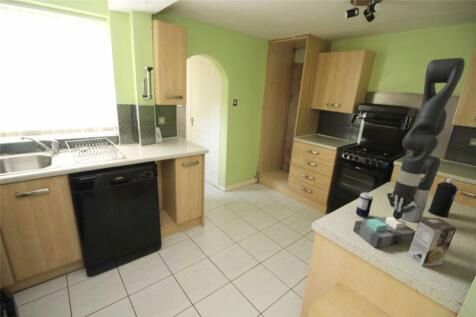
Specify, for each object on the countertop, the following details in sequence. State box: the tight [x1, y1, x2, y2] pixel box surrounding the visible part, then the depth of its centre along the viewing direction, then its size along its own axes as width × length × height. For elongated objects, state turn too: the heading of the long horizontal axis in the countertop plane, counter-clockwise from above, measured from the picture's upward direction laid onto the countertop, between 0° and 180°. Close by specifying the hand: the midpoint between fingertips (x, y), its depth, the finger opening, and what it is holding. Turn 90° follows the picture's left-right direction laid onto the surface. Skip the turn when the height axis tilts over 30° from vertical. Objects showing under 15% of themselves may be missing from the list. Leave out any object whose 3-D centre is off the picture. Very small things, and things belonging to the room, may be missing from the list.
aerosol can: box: [427, 178, 459, 218], centre depth 118 cm, size 8×8×20 cm
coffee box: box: [407, 217, 457, 267], centre depth 83 cm, size 9×6×16 cm
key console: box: [352, 216, 416, 249], centre depth 98 cm, size 21×12×5 cm, turn 106°
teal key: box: [366, 218, 387, 232], centre depth 96 cm, size 5×5×4 cm
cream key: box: [385, 216, 407, 229], centre depth 98 cm, size 5×5×4 cm
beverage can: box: [355, 191, 374, 219], centre depth 113 cm, size 6×6×12 cm
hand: (396, 218), depth 98 cm, fingers closed
